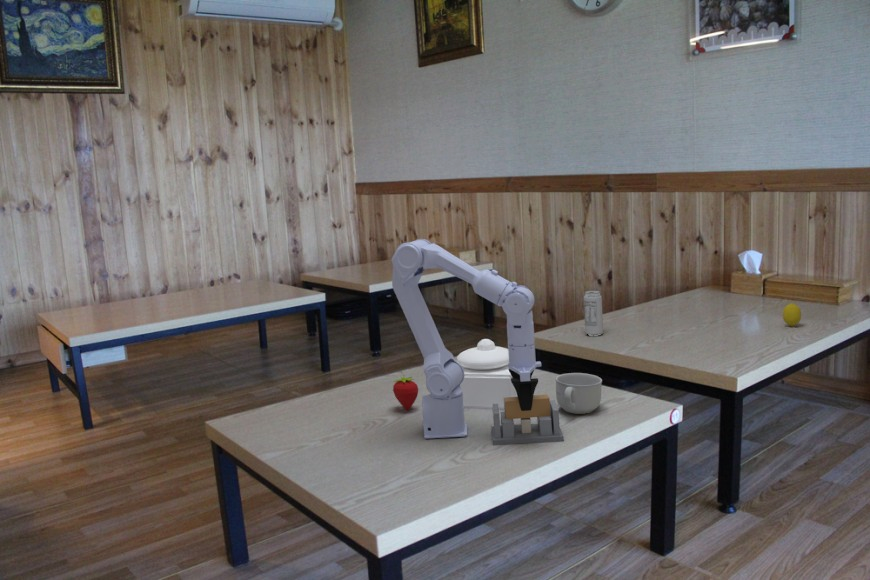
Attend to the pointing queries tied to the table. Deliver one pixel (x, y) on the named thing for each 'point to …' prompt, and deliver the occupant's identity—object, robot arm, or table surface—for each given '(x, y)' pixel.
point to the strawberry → (405, 391)
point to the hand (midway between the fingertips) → (524, 404)
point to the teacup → (578, 392)
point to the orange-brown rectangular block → (538, 410)
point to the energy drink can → (593, 313)
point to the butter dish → (486, 376)
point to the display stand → (526, 428)
